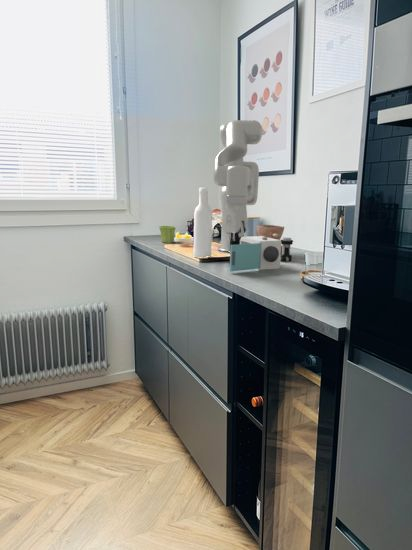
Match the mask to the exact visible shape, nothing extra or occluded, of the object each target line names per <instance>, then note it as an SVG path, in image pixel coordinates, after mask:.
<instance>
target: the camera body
mask: <svg viewBox="0 0 412 550" xmlns="http://www.w3.org/2000/svg"><path fill="white" fill-rule="evenodd" d="M281 240H282V239H280V240H277V239H273V238H268V237H263V236H258V235H255V236H254V235H253V236H252V235H251V236H244V237H241V240H240V244H253V243H261V262H260V268H259V269H256V270H257V271H262V270H275V269H280V268H281V267H280V266H281V265H280V264H281V261H280V254H281V245H282V244H281Z"/></svg>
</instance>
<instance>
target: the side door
mask: <svg viewBox="0 0 412 550" xmlns="http://www.w3.org/2000/svg"><path fill="white" fill-rule="evenodd" d="M260 262H261V243H253V244H237V245H231V247H230V252H229V272H239V271H247V270H257V269H259V268H260Z"/></svg>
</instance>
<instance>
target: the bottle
mask: <svg viewBox="0 0 412 550" xmlns="http://www.w3.org/2000/svg"><path fill="white" fill-rule="evenodd" d="M198 193H199V195H198V197H199V198H198V205H197V206H196V207H195V209H194V212H193V253H192V254H193V257H194V256H196V257H206V256H211V257H212V236H213V235H212V233H213V230H212V229H213V228H212V226H213V211H212V208H211V207H210V205H209V204H208V200H209V199H208V196H209V189H208V187H199V189H198Z"/></svg>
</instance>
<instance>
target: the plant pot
mask: <svg viewBox="0 0 412 550" xmlns="http://www.w3.org/2000/svg"><path fill="white" fill-rule="evenodd" d="M158 228H159V230H160V238H161V242H162V243H166V244H171V243H174V238H175V232H176V228H177V226H175V225H161V226H158Z"/></svg>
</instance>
